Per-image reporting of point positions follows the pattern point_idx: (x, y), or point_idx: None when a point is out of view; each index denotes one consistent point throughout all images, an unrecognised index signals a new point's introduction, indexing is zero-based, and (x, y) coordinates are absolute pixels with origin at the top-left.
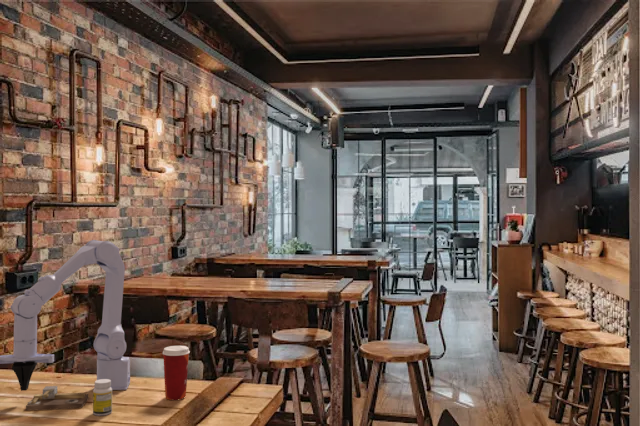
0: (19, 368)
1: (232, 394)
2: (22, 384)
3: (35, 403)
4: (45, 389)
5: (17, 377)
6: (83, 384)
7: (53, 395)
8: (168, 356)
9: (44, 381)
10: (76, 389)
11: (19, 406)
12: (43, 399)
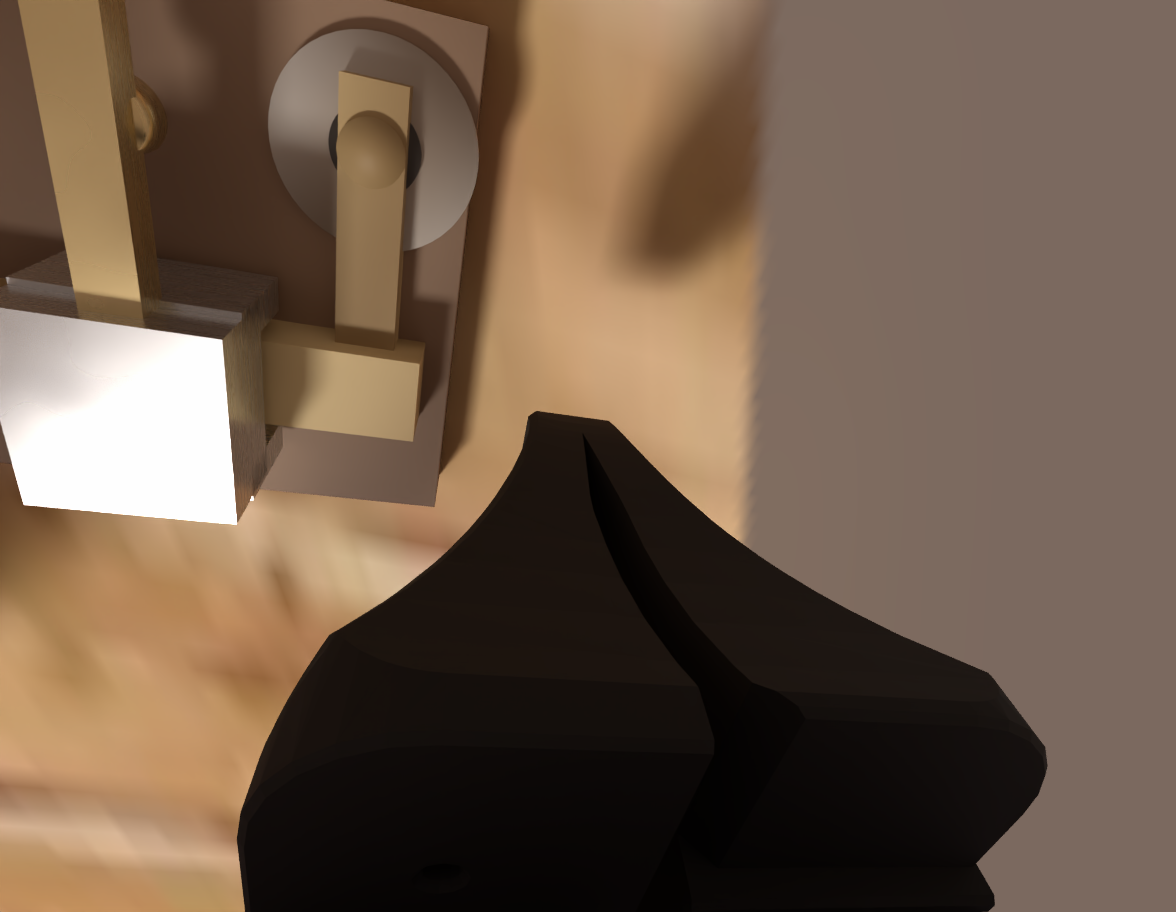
0: (795, 670)
1: None
2: (600, 455)
3: (338, 71)
4: (165, 330)
5: (734, 541)
6: (83, 823)
7: (61, 264)
8: None
9: None
10: (87, 718)
11: (595, 278)
12: (281, 316)
